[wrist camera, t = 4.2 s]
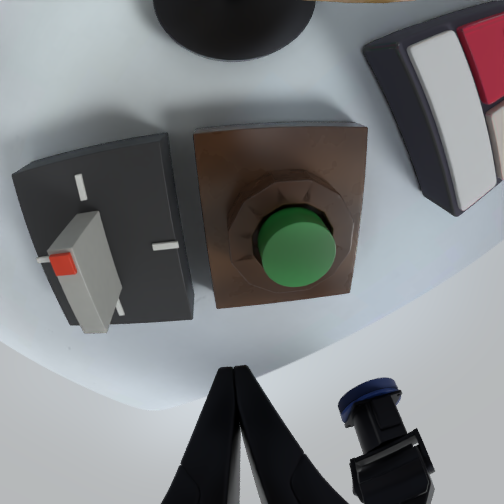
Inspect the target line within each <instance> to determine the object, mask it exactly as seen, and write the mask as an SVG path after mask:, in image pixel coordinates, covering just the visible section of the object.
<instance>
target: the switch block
mask: <svg viewBox="0 0 504 504" xmlns="http://www.w3.org/2000/svg"><path fill="white" fill-rule="evenodd" d="M367 134H368V128H367V127H365V126H363V125H360V124H358V123H355V122H277V123H256V124H241V125H229V126H217V127H207V128H198V129H195V131H194V134H193V139H194V148H195V158H196V166H197V175H198V183H199V191H200V199H201V207H202V215H203V222H204V230H205V237H206V244H207V251H208V258H209V264H210V271H211V278H212V284H213V290H214V297H215V303H216V308H217V309H221V308H231V307H241V306H251V305H260V304H269V303H278V302H286V301H294V300H302V299H310V298H317V297H325V296H332V295H339V294H346V293H350V289H351V283H352V277H353V271H354V264H355V258H356V251H357V243H358V236H359V228H360V220H361V211H362V201H363V191H364V180H365V167H366V152H367ZM288 207H303V208H307V209H309V210H311V211H313V212H315V213H316V214H317V215H318V216H319V217H320V218H321V220H322V221H323V223H324V224H325V226H326V227H327V229H328V230H329V231H330V233H331V234H332V236H333V238H334V240H335V244H336V255H335V259H334V262H333V264H332V266H331V267H330V269H329V270H328V271H327V273H326V274H325V275H324V276H322V277H321V278H320V279H318V280H317V281H315V282H313V283H311V284H308V285H305V286H300V287H288V286H283V285H280V284H278V283H276V282H274V281H273V280H272V279H270V278H269V276H268V275H267V274H266V272H265V271H264V268H263V265H262V261H261V257H260V253H259V248H258V234H259V231H260V228H261V226H262V225H263V223H264V222H265V221H266V220H267V218H269V217H270V216H271V215H272V214H274V213H275V212H277V211H279V210H281V209H284V208H288Z"/></svg>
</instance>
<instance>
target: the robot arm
mask: <svg viewBox="0 0 504 504" xmlns="http://www.w3.org/2000/svg"><path fill="white" fill-rule="evenodd" d="M401 394H402V392H401V390H397V391H394V392H391V393H387V394H384V395H380V396H376V397H373V398H369V399H365V400H361V401H357V402H355V403H354V404H353V405H352V408H351V410H350V413H349V415H348V417H347V420H346V422H345V427H346V428H348V427H353V426H354V427H355V430H356V433H357V436H358V439H359V442H360V445H361V448H362V451H363V454H364V455H361V456H359V457H357V458H352V459H350V462H351V463H350V464H349V465H350V468H351V474H352V479H353V494H354V495H356V496H358V498H359V499H360V501H361V502H362V503H364V504H431V500H432V497H433V493H434V486H433V483H432V480H431V478H430V474H431V473H433V472H435V470H434V468H433V465H432V462H431V460H430V458H429V455H428V453H427V451H426V448H425V446H424V443H423V441H422V439H421V436H420V434H419V432H418V429H417V428H416V429H414V430H413V431H412V432H410V433H408V434H407V431H406V429H405V427H404V424H403V422H402V419H401V417H400V414H399V412H398V410H397V407H396V403H397V401H398V400H399V398H400V396H401ZM240 427H241V431H240ZM241 432H242V436H243V441H244V444H245V448H246V452H247V455H248V459H249V462H250V466H251V470H252V473H253V477H254V480H255V483H256V487H257V490H258V494H259V497H260V500H261V503H262V504H348V503H347V502H346V501H345V500H344V499H343V498H342V497H341V496H340V495H339V494H338V493H337V492H336V491H335V490H334V489H333V488H332V487H331V486H330V485H329V483H328V482H327V481H326V480H325V479H324V478H323V477H322V476H321V474H320V473H319V472H318V470H317V469H316V468H315V467H314V465H313V464H312V462H311V461H310V460H309V458H308V457H307V455H306V454H304V452H303V450H302V448H301V447H300V446H299V444H298V443H297V441H296V440H295V438H294V437H293V435H292V434H291V432H290V431H289V429H288V428H287V426H286V425H285V423H284V422H283V420H282V419H281V417H280V416H279V414H278V413H277V411H276V410H275V408H274V407H273V405H272V404H271V402H270V400H269V399H268V397H267V396H266V394H265V393H264V391H263V390H262V388H261V387H260V385H259V383H258V382H257V380H256V378H255V377H254V375H253V374H252V372H251V370H250V369H249V367H248V366H246V365H242V366H235V367H234V368H233V367H221V368H219V369H218V371H217V374H216V376H215V379H214V381H213V384H212V386H211V389H210V391H209V394H208V396H207V399H206V402H205V404H204V406H203V409H202V411H201V414H200V416H199V419H198V421H197V424H196V426H195V429H194V431H193V434H192V436H191V439H190V441H189V444H188V446H187V448H186V451H185V453H184V456H183V458H182V460H181V465H180V466H179V468H178V470H177V472H176V475H175V477H174V479H173V481H172V484H171V486H170V488H169V490H168V492H167V494H166V496H165V497H164V499H163V501H162V503H161V504H239V495H240V492H239V491H240V441H241ZM416 443H419V445H417V446H414V447H413V445H414V444H416Z"/></svg>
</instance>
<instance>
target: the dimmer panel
mask: <svg viewBox="0 0 504 504" xmlns="http://www.w3.org/2000/svg"><path fill="white" fill-rule="evenodd" d="M12 178H13V182H14V186H15V189H16V193H17V196H18V200H19V203H20V206H21V210H22V213H23V216H24V219H25V222H26V225H27V228H28V230H29V233H30V236H31V239H32V241H33V244H34V247H35V249H36V252H37V255H38V257H37V258H36V260H37V262H38V263H41V264H42V267H43V269H44V272H45V274H46V276H47V278H48V281H49V283H50V285H51V287H52V290H53V292H54V294H55V296H56V298H57V300H58V302H59V304H60V306H61V308H62V310H63V312H64V314H65V316H66V318H67V320H68V322H69V324H70V325H80V324H79V322H78V320H77V318H76V316H75V314H74V312H73V310H72V308H71V306H70V304H69V302H68V300H67V297H66V295H65V293H64V291H63V289H62V286H61V284H60V282H59V279H58V277H57V276H56V274H55V272H54V269H53V267H52V265H51V262H50V260H49V255H48V252H47V250H48V249H49V248H50V246H51V245H52V244H53V243H54V241H55V240H56V239H57V237H58V236H59V235H60V234H61V232H62V231H63V230H64V229H65V228H66V226H67V225H68V224H69V223H70V222H71V220H72V219H73V218H74V217H75V216H76V215H77V214H80V213H86V212H92V211H99V213H100V217H101V221H102V224H103V228H104V231H105V235H106V238H107V242H108V245H109V248H110V252H111V255H112V258H113V261H114V264H115V267H116V271H117V274H118V277H119V280H120V282H121V285H122V290H121V292H120V295H119V298H118V301H117V304H116V307H115V310H114V313H113V316H112V319H111V322H110V324H130V323H149V322H165V321H179V320H192V319H193V309H194V291H193V286H192V281H191V276H190V271H189V265H188V260H187V255H186V249H185V244H184V238H183V233H182V227H181V221H180V215H179V209H178V203H177V197H176V190H175V184H174V177H173V170H172V163H171V155H170V148H169V140H168V133H160V134H154V135H148V136H142V137H136V138H130V139H125V140H120V141H115V142H110V143H105V144H100V145H96V146H91V147H87V148H82V149H78V150H74V151H70V152H66V153H62V154H58V155H55V156H51V157H47V158H44V159H40V160H37V161H34V162H31V163H30V164H28V165H26V166H25V167H23V168H22V169H20V170H18V171H17V172H15V173H14V174H12Z"/></svg>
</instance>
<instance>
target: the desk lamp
mask: <svg viewBox="0 0 504 504" xmlns="http://www.w3.org/2000/svg"><path fill="white" fill-rule="evenodd" d="M316 1H329V2H343V3H389V2H401V1H414V0H153V3H154V9H155V12H156V16H157V18H158V20H159V22H160V24H161V25H162V27H163V28H164V30H165V31H166V32H167V33H168V34H169V36H170V37H171V38H172V39H173V40H174V41H176V42H177V43H178V44H179V45H181V46H182V47H183V48H185V49H187V50H188V51H190V52H192V53H194V54H196V55H198V56H202V57H205V58H208V59H212V60H217V61H226V62H240V61H249V60H253V59H258V58H261V57H264V56H267V55H269V54H271V53H273V52H276V51H278V50H280V49H281V48H283V47H285V46H286V45H288V44H289V43H291V42H292V41H293V40H294V39H296V38H297V37H298V36H299V35H300V33H301V32H302V31H303V30H304V29H305V27H306V26H307V24H308V23H309V21H310V19H311V17H312V14H313V11H314V8H315V2H316Z"/></svg>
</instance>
